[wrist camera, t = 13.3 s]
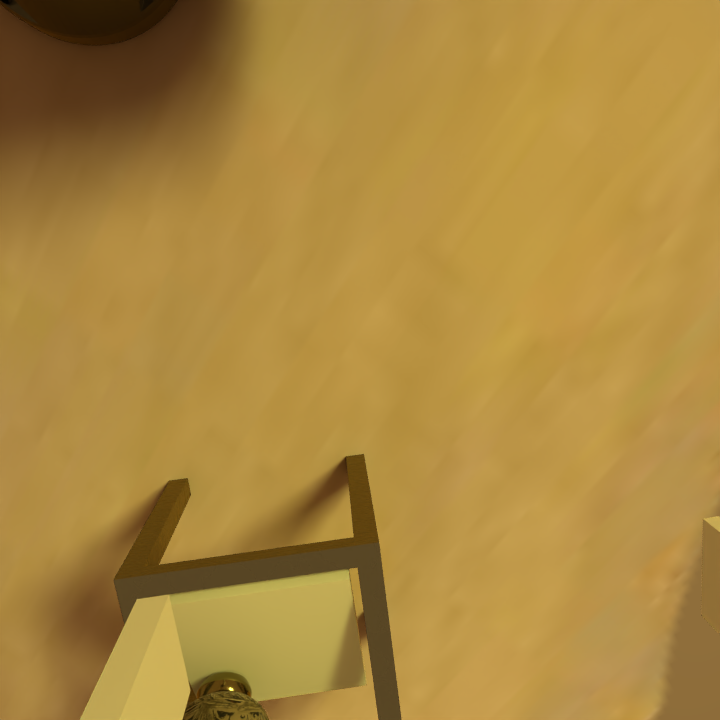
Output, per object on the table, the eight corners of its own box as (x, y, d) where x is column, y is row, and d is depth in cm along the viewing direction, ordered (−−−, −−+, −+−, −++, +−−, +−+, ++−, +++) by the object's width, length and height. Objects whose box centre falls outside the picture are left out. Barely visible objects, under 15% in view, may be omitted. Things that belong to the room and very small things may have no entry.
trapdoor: (158, 593, 38) (156, 607, 38) (348, 566, 39) (349, 579, 38) (203, 696, 45) (201, 709, 44) (365, 671, 45) (366, 685, 45)
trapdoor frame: (169, 480, 51) (113, 579, 37) (363, 454, 51) (378, 542, 37) (205, 647, 55) (166, 792, 41) (385, 621, 55) (405, 755, 41)
